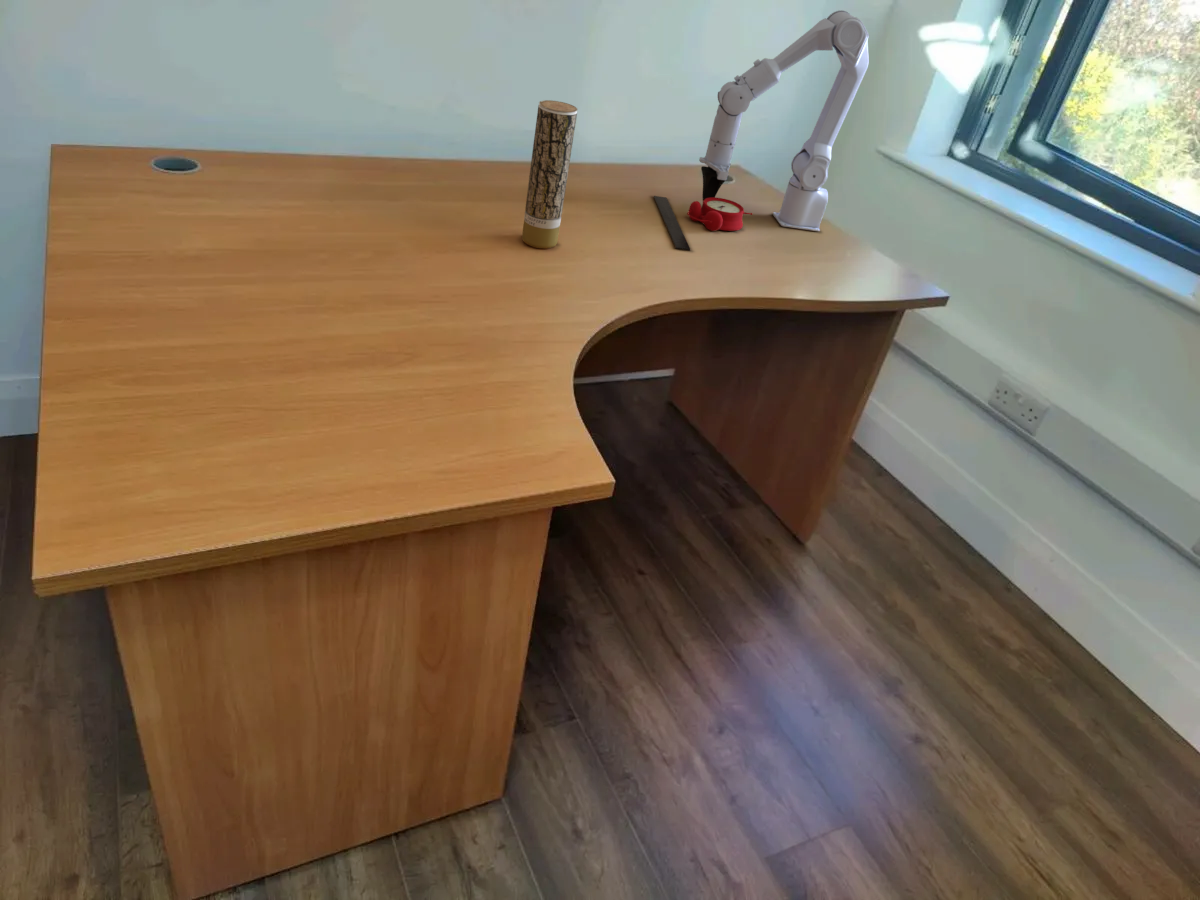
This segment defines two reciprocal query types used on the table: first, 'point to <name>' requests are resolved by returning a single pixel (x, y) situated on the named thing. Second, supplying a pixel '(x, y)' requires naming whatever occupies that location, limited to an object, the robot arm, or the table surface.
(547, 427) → the table surface
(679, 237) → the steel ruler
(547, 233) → the paper tube
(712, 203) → the alarm clock
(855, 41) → the robot arm
